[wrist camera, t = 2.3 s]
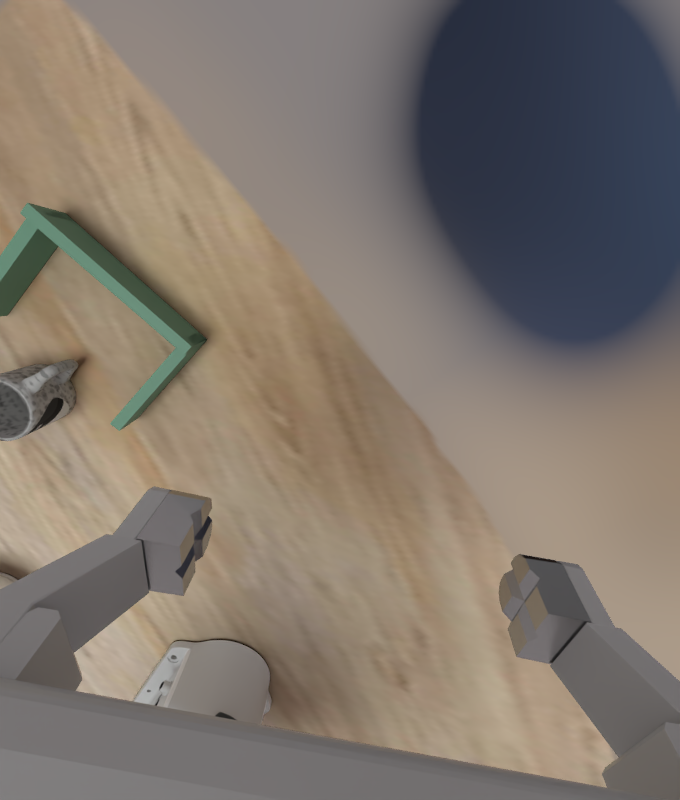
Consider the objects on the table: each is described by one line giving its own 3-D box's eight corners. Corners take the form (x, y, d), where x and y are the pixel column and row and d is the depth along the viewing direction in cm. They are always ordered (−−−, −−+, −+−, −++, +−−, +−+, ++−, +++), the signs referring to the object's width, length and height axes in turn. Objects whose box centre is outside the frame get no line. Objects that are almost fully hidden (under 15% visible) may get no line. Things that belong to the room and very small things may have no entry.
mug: (49, 429, 45) (3, 452, 39) (4, 386, 43) (-52, 404, 37) (108, 380, 43) (70, 396, 37) (63, 334, 42) (15, 343, 35)
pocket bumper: (137, 418, 45) (114, 434, 40) (-3, 307, 41) (-48, 310, 36) (207, 339, 42) (191, 346, 37) (65, 213, 38) (27, 202, 33)
